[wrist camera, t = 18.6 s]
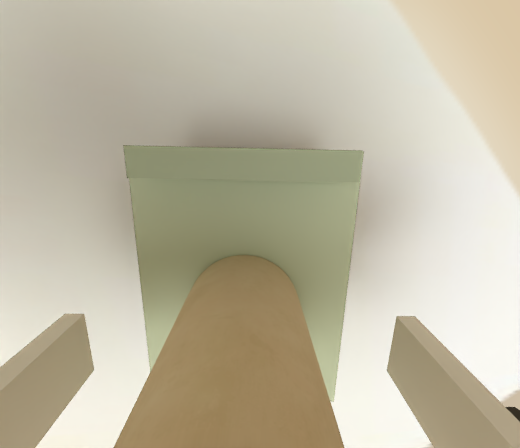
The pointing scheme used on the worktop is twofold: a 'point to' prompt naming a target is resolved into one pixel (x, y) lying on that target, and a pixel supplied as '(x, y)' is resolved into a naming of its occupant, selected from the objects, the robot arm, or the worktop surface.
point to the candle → (236, 369)
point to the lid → (245, 228)
